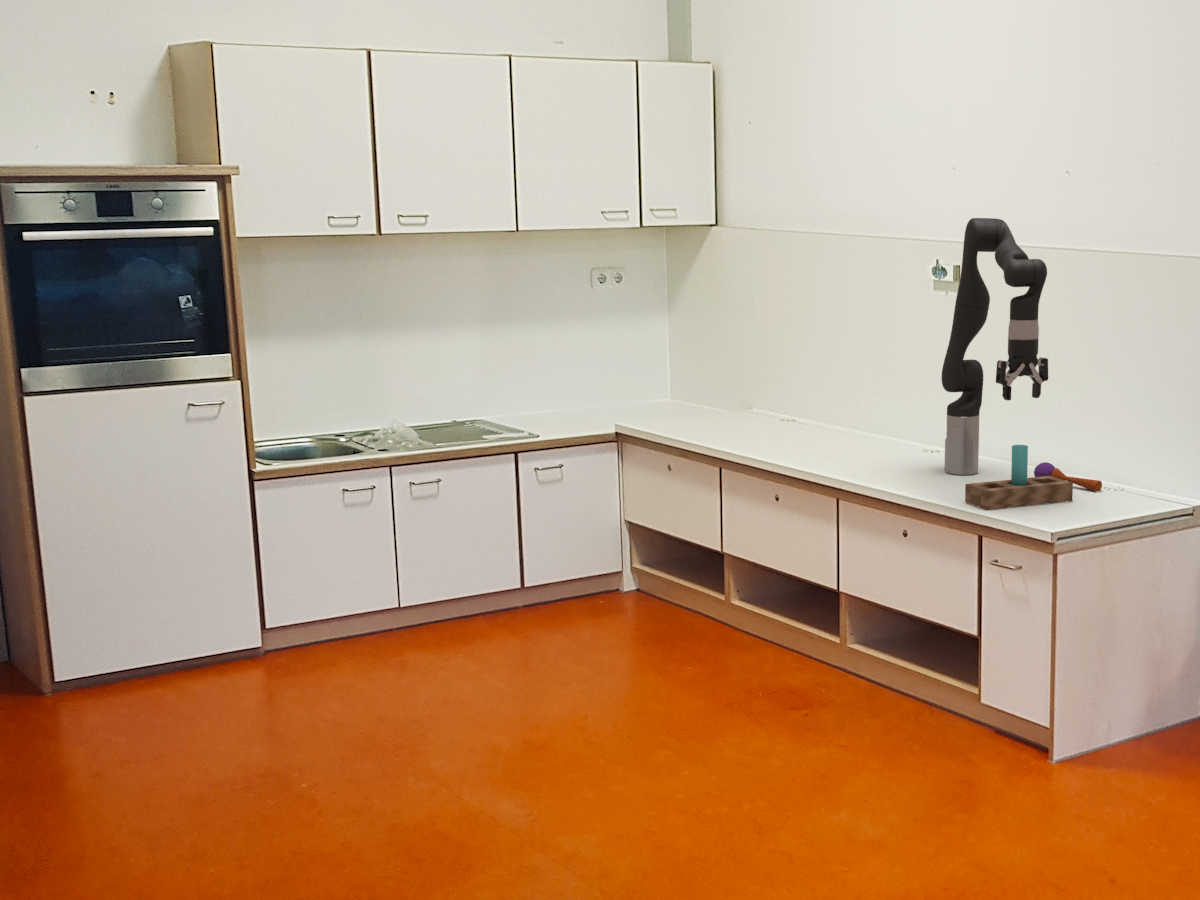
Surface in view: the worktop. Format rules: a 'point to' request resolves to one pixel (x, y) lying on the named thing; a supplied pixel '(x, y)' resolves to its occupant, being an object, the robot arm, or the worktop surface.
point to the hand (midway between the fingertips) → (1021, 398)
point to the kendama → (1050, 470)
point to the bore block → (1018, 493)
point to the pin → (1019, 465)
